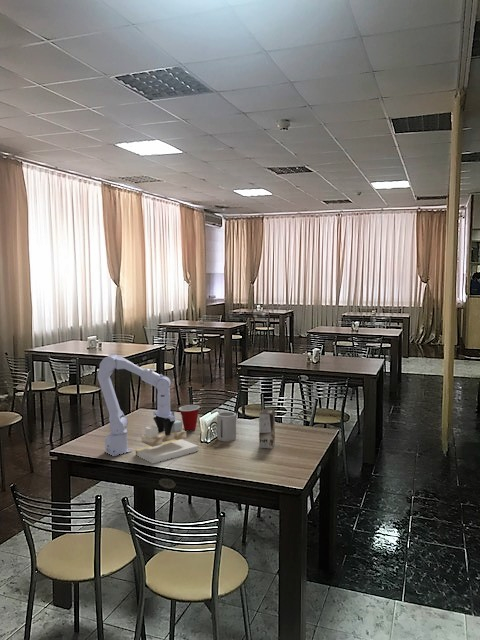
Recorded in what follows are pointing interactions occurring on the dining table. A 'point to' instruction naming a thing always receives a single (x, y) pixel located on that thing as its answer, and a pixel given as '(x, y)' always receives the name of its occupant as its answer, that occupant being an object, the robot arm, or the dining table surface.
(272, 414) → the coffee box
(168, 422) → the robot arm
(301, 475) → the dining table surface
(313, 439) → the dining table surface
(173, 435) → the pallet
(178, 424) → the block
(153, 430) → the crate
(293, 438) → the dining table surface
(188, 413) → the plastic cup
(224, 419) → the cup
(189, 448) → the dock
